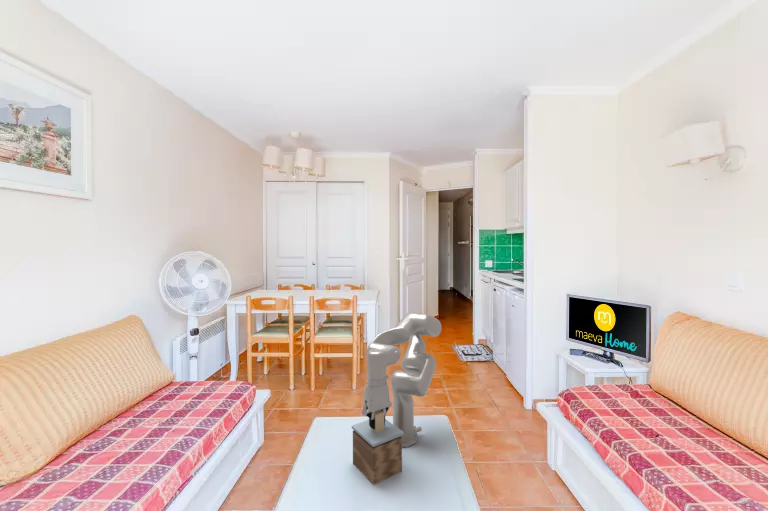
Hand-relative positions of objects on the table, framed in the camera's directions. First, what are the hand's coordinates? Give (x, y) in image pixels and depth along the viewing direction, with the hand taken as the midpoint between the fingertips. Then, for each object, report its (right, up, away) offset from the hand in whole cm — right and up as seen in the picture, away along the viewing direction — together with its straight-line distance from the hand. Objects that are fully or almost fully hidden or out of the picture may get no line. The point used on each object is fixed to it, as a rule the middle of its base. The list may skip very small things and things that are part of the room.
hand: (377, 425), depth 138 cm
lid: (0, -3, 0) cm, 3 cm away
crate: (0, -17, 0) cm, 17 cm away
